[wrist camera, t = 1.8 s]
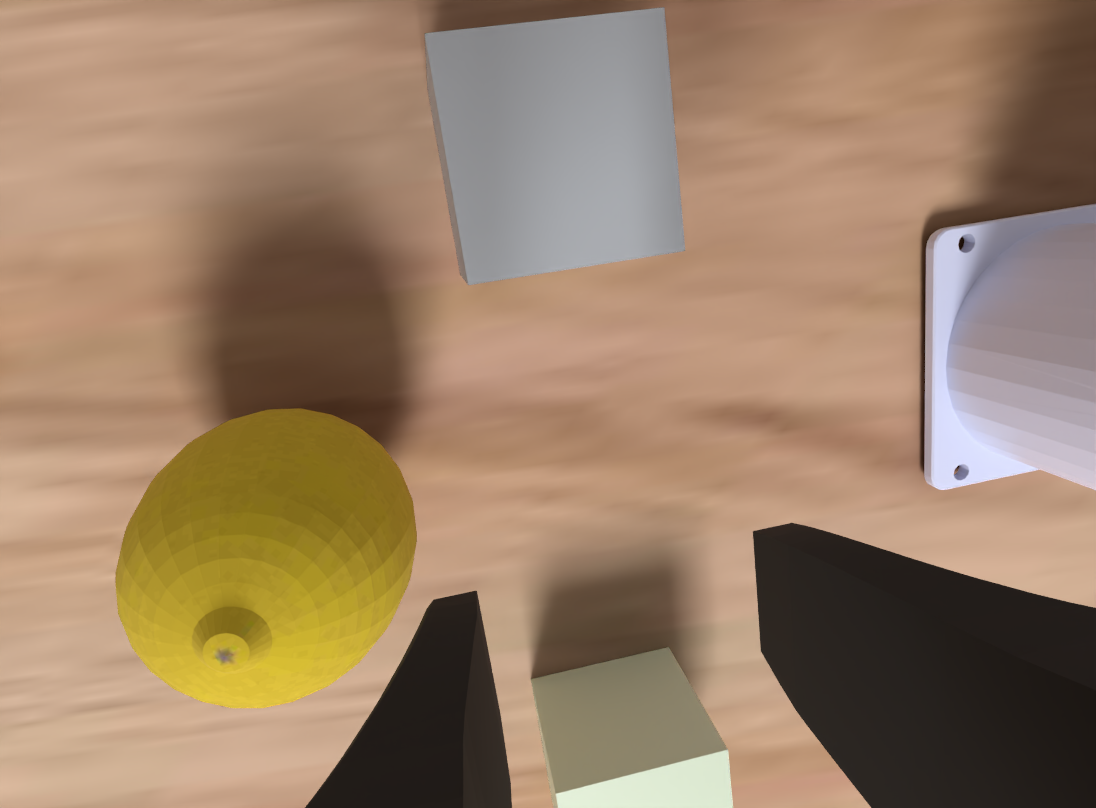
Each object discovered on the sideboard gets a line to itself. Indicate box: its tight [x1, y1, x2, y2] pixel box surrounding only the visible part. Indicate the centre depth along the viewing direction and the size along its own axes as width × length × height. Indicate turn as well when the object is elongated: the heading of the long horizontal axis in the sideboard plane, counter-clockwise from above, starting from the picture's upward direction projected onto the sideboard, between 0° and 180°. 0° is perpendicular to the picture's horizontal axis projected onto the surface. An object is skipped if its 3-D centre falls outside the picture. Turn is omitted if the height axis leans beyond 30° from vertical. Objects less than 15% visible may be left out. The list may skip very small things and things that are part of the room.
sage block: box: [531, 647, 733, 808], centre depth 19 cm, size 4×4×4 cm
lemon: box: [116, 408, 417, 708], centre depth 14 cm, size 6×6×8 cm
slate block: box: [425, 7, 685, 285], centre depth 15 cm, size 4×4×4 cm
